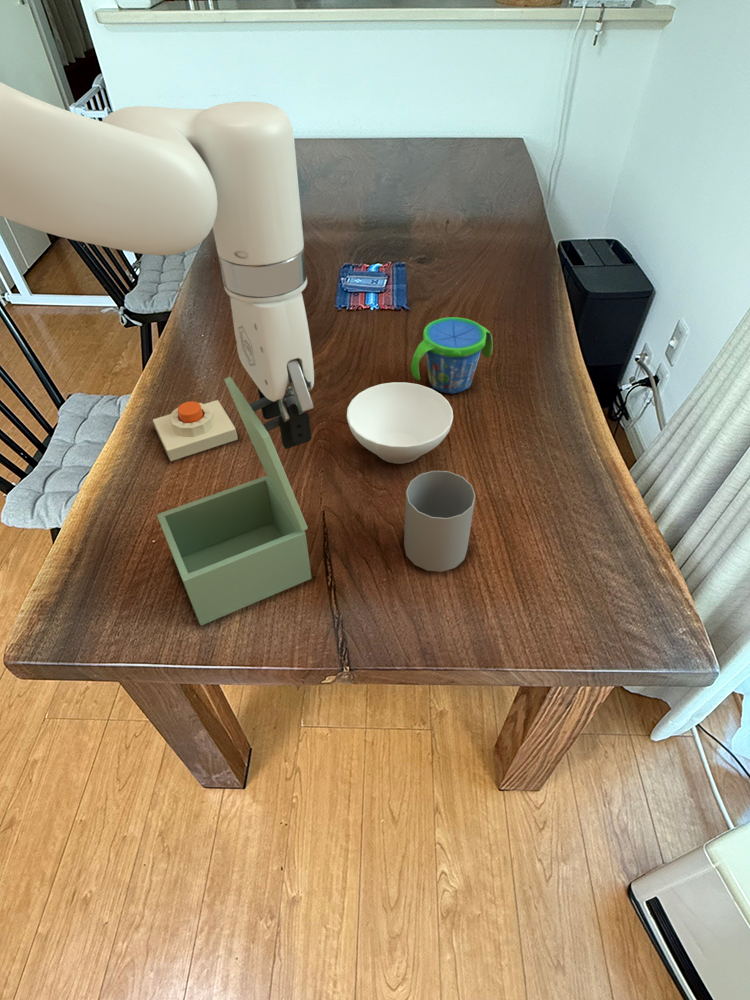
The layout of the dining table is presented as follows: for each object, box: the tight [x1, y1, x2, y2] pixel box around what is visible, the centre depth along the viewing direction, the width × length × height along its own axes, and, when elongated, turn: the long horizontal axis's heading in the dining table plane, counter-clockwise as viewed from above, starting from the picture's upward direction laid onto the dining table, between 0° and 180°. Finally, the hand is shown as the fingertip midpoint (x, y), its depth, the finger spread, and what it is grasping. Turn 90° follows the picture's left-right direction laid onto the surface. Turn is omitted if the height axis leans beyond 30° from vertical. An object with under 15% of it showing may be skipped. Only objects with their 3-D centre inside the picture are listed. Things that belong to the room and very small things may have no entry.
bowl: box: [346, 381, 454, 465], centre depth 92 cm, size 16×16×7 cm
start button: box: [177, 400, 203, 423], centre depth 94 cm, size 4×4×2 cm
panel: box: [152, 399, 239, 462], centre depth 96 cm, size 11×9×4 cm
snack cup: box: [410, 316, 494, 395], centre depth 103 cm, size 16×10×10 cm
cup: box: [403, 470, 477, 573], centre depth 76 cm, size 8×8×10 cm
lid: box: [223, 376, 308, 532], centre depth 68 cm, size 15×12×6 cm
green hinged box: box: [156, 475, 312, 627], centre depth 74 cm, size 15×12×9 cm
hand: (286, 427), depth 66 cm, fingers closed on lid, 5 cm apart
